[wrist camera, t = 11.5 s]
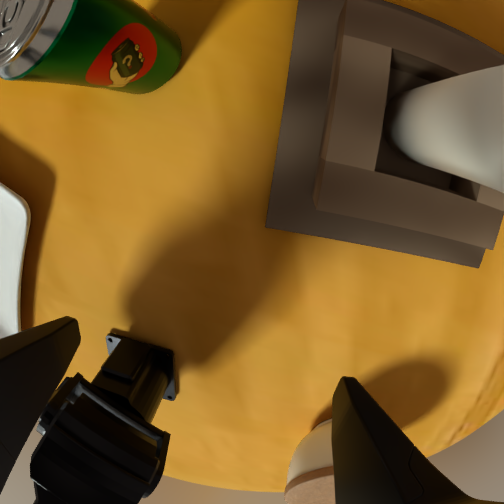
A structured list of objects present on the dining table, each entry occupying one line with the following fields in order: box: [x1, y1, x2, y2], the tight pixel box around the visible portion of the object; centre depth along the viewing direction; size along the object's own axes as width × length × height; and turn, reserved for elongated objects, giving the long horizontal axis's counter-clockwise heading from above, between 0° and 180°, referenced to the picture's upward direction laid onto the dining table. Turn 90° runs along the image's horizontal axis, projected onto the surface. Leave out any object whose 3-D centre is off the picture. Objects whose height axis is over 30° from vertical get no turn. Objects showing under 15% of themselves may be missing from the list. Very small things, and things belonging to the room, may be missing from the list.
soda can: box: [0, 0, 182, 94], centre depth 10 cm, size 5×5×12 cm
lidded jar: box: [285, 418, 335, 504], centre depth 22 cm, size 11×11×9 cm
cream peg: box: [383, 65, 504, 193], centre depth 10 cm, size 4×4×10 cm
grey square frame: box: [265, 0, 504, 268], centre depth 14 cm, size 16×16×4 cm
